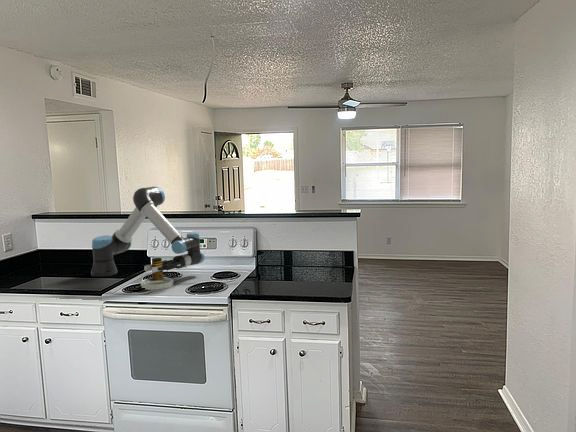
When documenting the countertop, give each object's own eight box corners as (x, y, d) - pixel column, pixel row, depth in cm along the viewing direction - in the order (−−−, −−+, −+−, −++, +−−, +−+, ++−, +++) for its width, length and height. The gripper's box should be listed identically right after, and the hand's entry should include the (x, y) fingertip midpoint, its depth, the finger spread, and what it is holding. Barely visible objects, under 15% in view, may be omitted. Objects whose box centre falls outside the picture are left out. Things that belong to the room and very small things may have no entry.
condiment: (165, 279, 257) (164, 258, 255) (150, 282, 252) (149, 260, 251) (161, 277, 263) (160, 256, 261) (146, 279, 258) (145, 258, 257)
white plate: (148, 281, 267) (147, 277, 266) (176, 281, 265) (176, 277, 265) (136, 289, 250) (136, 285, 250) (166, 289, 249) (166, 285, 248)
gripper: (192, 269, 265) (159, 278, 247) (171, 265, 277) (138, 273, 258) (192, 256, 264) (158, 264, 246) (170, 253, 276) (137, 260, 258)
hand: (148, 269), depth 252 cm, fingers closed on condiment, 6 cm apart
